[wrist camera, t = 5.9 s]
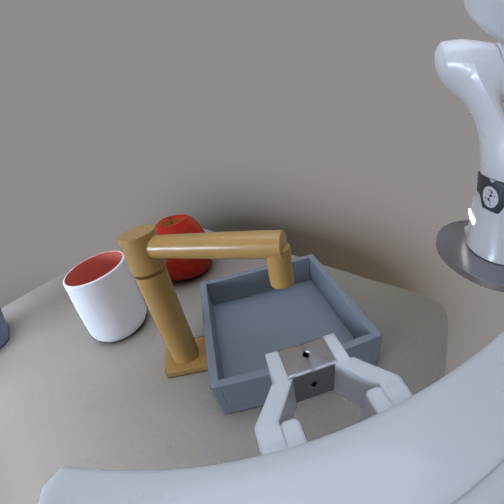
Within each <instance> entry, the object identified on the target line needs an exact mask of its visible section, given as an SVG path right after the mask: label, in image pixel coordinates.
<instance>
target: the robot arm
mask: <svg viewBox="0 0 504 504" xmlns="http://www.w3.org/2000/svg"><path fill="white" fill-rule="evenodd" d="M463 1H464V6H465V9H466V11H467V13H468V15H469V16H470V17H471V19H472V20H473V21H474V22H475V23H476V24H477V25H478V26H479V27H481V28H482V29H483V30H484V31H486V32H487V33H489V34H490V35H491V36H493V37H495V38H496V39H498V40H499V42H498V43H490V42H483V41H476V40H468V39H456V40H449V41H442V42H440V44H439V45H438V46H437V48H436V51H435V55H434V63H435V68H436V71H437V74H438V76H439V78H440V79H441V81H442V82H443V84H444V85H445V86H446V87H447V88H448V89H449V90H450V91H451V92H453V93H454V94H455V95H456V96H457V97H458V98H460V100H461V101H462V102H463V103H464V104H465V105H466V107H467V108H468V110H469V111H470V113H471V115H472V117H473V119H474V122H475V125H476V128H477V132H478V138H479V147H480V171H479V172H478V178H477V191H478V194H477V195H475V196H474V198H473V203H472V208H471V210H470V209H469V210H468V213H469V216H470V219H469V224H468V226H465V228H464V233H465V234H466V236H467V238H466V243H467V245H468V247H469V248H470V249H471V250H472V251H473V252H474V253H475V254H477V255H478V256H480V257H481V258H483V259H485V260H488V261H490V262H493V263H496V264H500V265H504V110H503V107H502V102H504V0H463ZM265 356H266V361H267V365H268V370H269V373H270V377H271V381H272V385H271V388H270V391H269V393H268V396H267V398H266V401H265V403H264V406H263V408H262V411H261V413H260V415H259V418H258V420H257V423H256V425H255V427H254V430H255V434H256V438H257V441H258V445H259V449H260V453H261V455H260V456H255V457H251V458H246V459H242V460H237V461H231V462H226V463H220V464H214V465H207V466H199V467H191V468H181V469H169V470H150V471H115V470H96V469H84V468H75V467H63V468H61V469H60V470H59V471H58V472H57V473H56V474H55V475H54V476H53V477H52V478H51V479H50V480H49V481H48V482H47V483H46V484H45V485H44V487H43V489H42V491H41V495H40V498H39V504H504V331H503V332H502V333H501V334H499V335H498V336H497V337H496V338H495V339H494V340H492V341H491V342H490V343H489V344H487V345H486V346H485V347H484V348H483V349H481V350H480V351H479V352H478V353H476V354H475V355H474V356H472V357H471V358H470V359H468V360H467V361H465V362H464V363H463V364H461V365H460V366H458V367H457V368H456V369H454V370H453V371H451V372H450V373H448V374H447V375H445V376H444V377H442V378H441V379H439V380H438V381H436V382H434V383H433V384H431V385H430V386H428V387H426V388H425V389H423V390H421V391H420V392H418V393H416V394H414V395H413V394H412V393H411V391H410V390H409V389H408V387H407V386H406V384H405V383H404V382H403V380H402V379H401V378H400V376H399V375H397V374H395V373H392V372H389V371H387V370H384V369H382V368H379V367H377V366H374V365H372V364H370V363H367V362H365V361H362V360H360V359H358V358H355V357H351V358H350V357H349V355H348V354H347V352H346V351H345V349H344V348H343V346H342V344H341V343H340V341H339V340H338V338H337V337H336V335H335V334H333V333H331V334H329V335H326V336H323V337H320V338H317V339H314V340H311V341H308V342H305V343H302V344H300V345H296V346H293V347H289V348H286V349H282V350H278V351H275V352H271V353H268V354H265ZM332 390H334V391H335V392H337V393H338V394H340V395H342V396H343V397H345V398H347V399H348V400H350V401H352V402H353V403H355V404H357V405H358V406H360V407H362V408H363V410H362V413H361V417H360V421H359V422H358V423H356V424H354V425H351V426H349V427H347V428H344V429H342V430H339V431H337V432H334V433H331V434H329V435H326V436H323V437H320V438H318V439H315V440H312V441H309V442H307V440H306V438H305V435H304V433H303V430H302V428H301V425H300V423H299V420H298V419H294V418H293V415H294V411H295V407H296V403H297V402H300V401H303V400H305V399H308V398H311V397H314V396H317V395H320V394H323V393H326V392H329V391H332ZM292 418H293V419H292Z"/></svg>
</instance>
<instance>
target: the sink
mask: <svg viewBox="0 0 504 504" xmlns="http://www.w3.org/2000/svg"><path fill="white" fill-rule="evenodd" d="M292 266H293V274H294V283H293V285H292V286H290V287H289V288H286V289H275V288H273V287H272V286H271V284H270V279H269V273H268V267H267V266H265V267H261V268H257V269H253V270H249V271H245V272H241V273H237V274H233V275H230V276H226V277H222V278H218V279H214V280H210V281H205V282H201V283H200V286H201V299H202V312H203V323H204V334H205V344H206V354H207V363H208V372H209V380H210V388H211V390H212V392H213V394H214V396H215V398H216V400H217V402H218V404H219V406H220V408H221V410H222V411H223V413H224V414H228V413H233V412H237V411H241V410H246V409H250V408H254V407H258V406H262V405H264V403H265V401H266V398H267V396H268V393H269V391H270V388H271V385H272V381H271V377H270V373H269V370H268V365H267V361H266V356H265V354H268V353H271V352H275V351H278V350H282V349H286V348H289V347H293V346H296V345H300V344H302V343H305V342H308V341H311V340H314V339H317V338H320V337H323V336H326V335H329V334H331V333H333V334H335V335H336V337H337V338H338V340H339V341H340V343H341V344H342V346H343V348H344V349H345V351H346V352H347V354H348V355H349V357H350V358H351V357H355V358H358V359H360V360H362V361H365V362H367V363H370V364H372V365H374V366H376V364H377V359H378V354H379V349H380V343H381V337H382V334H381V333H380V332H379V331H378V329H377V328H376V327H375V326H374V325H373V323H372V322H371V321H370V320H369V319H368V317H367V316H366V315H365V314H364V313H363V312H362V310H361V309H360V308H359V307H358V306H357V304H356V303H355V302H354V301H353V300H352V299H351V297H350V296H349V295H348V294H347V293H346V292H345V291H344V289H343V288H342V287H341V286H340V285H339V284H338V282H337V281H336V280H335V279H334V278H333V277H332V276H331V275H330V273H329V272H328V271H327V270H326V269H325V268H324V267H323V266H322V264H321V263H320V262H319V261H318V260H317V259H316V258H315V257H314V256H313V255H312V254H310V255H307V256H303V257H299V258H295V259H292Z"/></svg>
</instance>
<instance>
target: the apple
mask: <svg viewBox="0 0 504 504" xmlns="http://www.w3.org/2000/svg"><path fill="white" fill-rule="evenodd" d="M155 227H156V230H157V233H158V235H168V234H188V233H205V232H204V230H203V229H202V228H201V226H200V225H199V224H198V222H197V221H196V220H194V218H193V217H190V216H187V215H174V216H169V217H166V218H163V219H162V220H161V221H159V222H158V223H157V224H156V226H155ZM210 264H211V259H179V258H166V267H167V270H168V273H169V275H170V278H171V279H172V280H176V281H179V280H186V279H190V278H194V277H198V276H199V275H201V274H202V273H204V272H205V271H207V269H208V267H209V266H210Z"/></svg>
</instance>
